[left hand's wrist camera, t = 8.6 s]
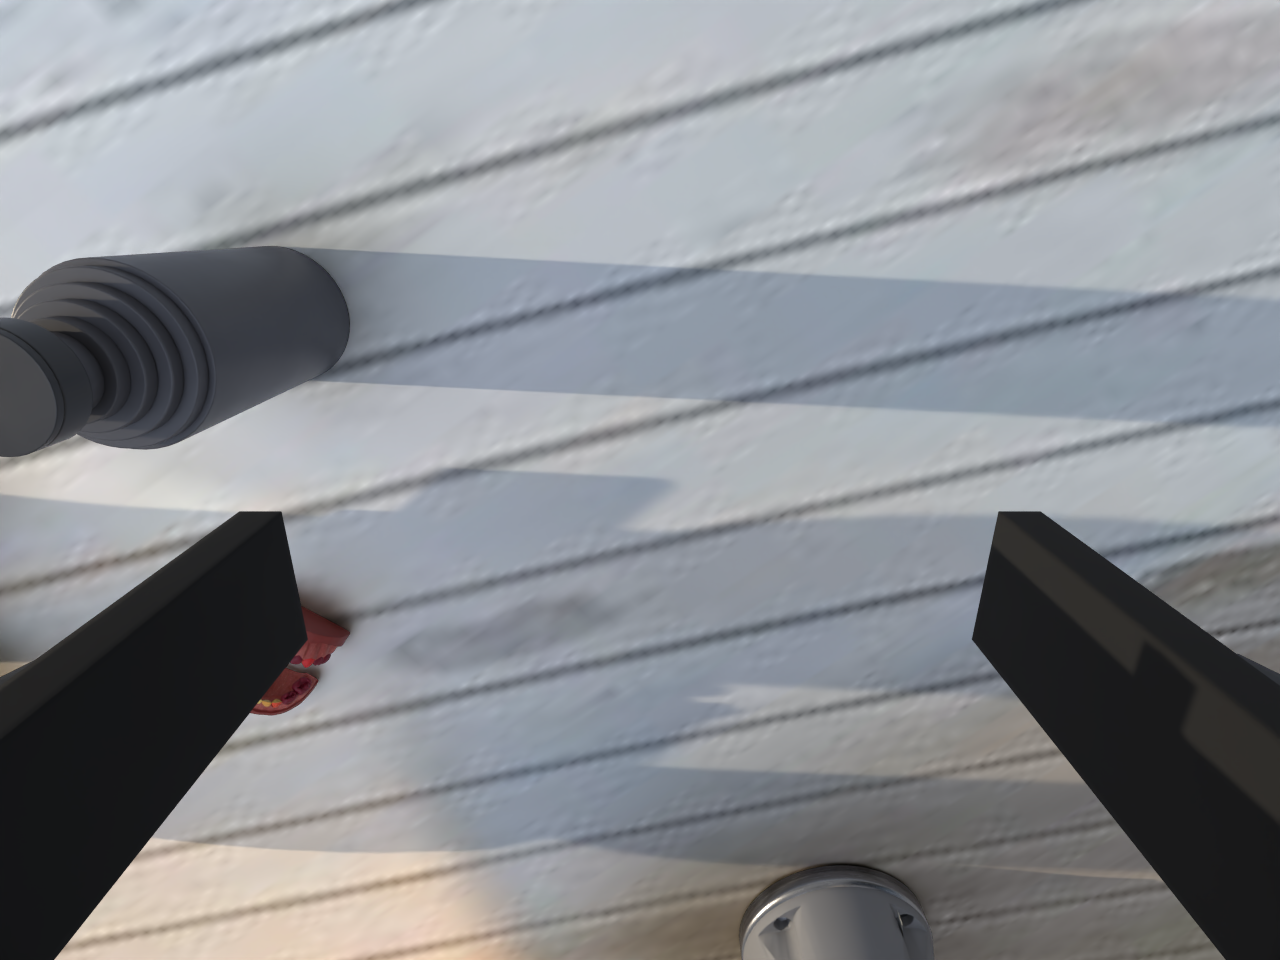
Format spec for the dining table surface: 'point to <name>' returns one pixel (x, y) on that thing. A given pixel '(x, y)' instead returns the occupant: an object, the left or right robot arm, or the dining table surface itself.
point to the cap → (39, 389)
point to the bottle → (188, 334)
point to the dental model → (315, 651)
